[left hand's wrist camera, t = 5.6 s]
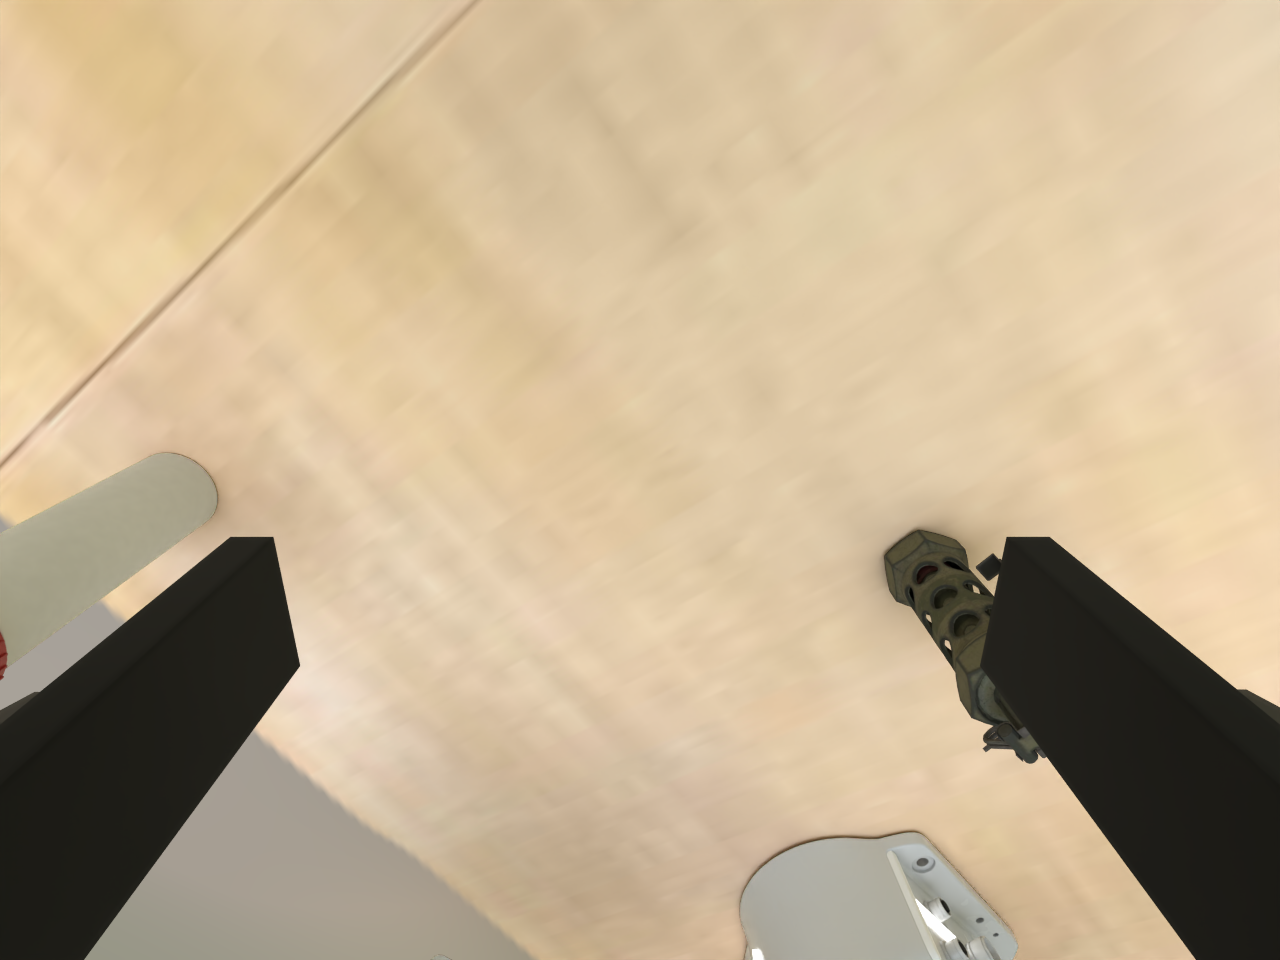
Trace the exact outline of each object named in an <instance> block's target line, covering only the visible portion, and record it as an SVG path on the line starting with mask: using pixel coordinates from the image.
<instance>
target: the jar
mask: <svg viewBox="0 0 1280 960" xmlns="http://www.w3.org/2000/svg"><path fill="white" fill-rule="evenodd" d="M217 500H218V499H217V491H216V487H215V485H214V483H213V480H212V479H211V477H210V476H209V474H208V473H207V472H206V471H205V470H204V469H203V468H202V467H201V466H200V465H199V464H197V463H196V462H194V461H193V460H191V459H189V458H187V457H184V456H182V455H178V454H173V453H159V454H155V455H152V456H149V457H148V458H146V459H144V460H142V461H140V462H138V463H136V464H134V465H132V466H130V467H128V468H126V469H124V470H122V471H120V472H118V473H116V474H115V475H113V476H111V477H109V478H107V479H105V480H103V481H101V482H99V483H97V484H95V485H93V486H91V487H89V488H87V489H85V490H83V491H82V492H80V493H78V494H76V495H74V496H72V497H70V498H68V499H66V500H64V501H62V502H60V503H58V504H56V505H54V506H52V507H50V508H49V509H47V510H45V511H43V512H41V513H39V514H37V515H35V516H33V517H31V518H29V519H27V520H25V521H23V522H21V523H19V524H17V525H16V526H14V527H12V528H10V529H8V530H6V531H4V532H2V533H0V632H1V634H2V636H3V638H4V640H5V644H6V649H7V653H8V655H7V665H8V666H7V667H9V666H10V665H12V664H13V663H14V662H16V661H17V660H18V659H20V658H21V657H22V656H24V655H25V654H27V653H28V652H29V651H31V650H32V649H33V648H35V647H36V646H37V645H39V644H40V643H41V642H43V641H44V640H46V639H47V638H48V637H50V636H51V635H52V634H54V633H55V632H56V631H58V630H59V629H61V628H62V627H63V626H65V625H66V624H67V623H69V622H70V621H72V620H73V619H74V618H76V617H77V616H78V615H80V614H81V613H83V612H84V611H85V610H87V609H88V608H89V607H91V606H92V605H93V604H95V603H96V602H98V601H99V600H100V599H102V598H103V597H104V596H106V595H107V594H108V593H110V592H111V591H113V590H114V589H115V588H117V587H118V586H119V585H121V584H122V583H123V582H125V581H126V580H128V579H129V578H130V577H132V576H133V575H134V574H136V573H137V572H138V571H140V570H141V569H143V568H144V567H145V566H147V565H148V564H149V563H151V562H152V561H153V560H155V559H156V558H158V557H159V556H160V555H162V554H163V553H164V552H166V551H167V550H168V549H170V548H171V547H173V546H174V545H175V544H177V543H178V542H179V541H181V540H182V539H183V538H185V537H186V536H188V535H189V534H190V533H192V532H193V531H194V530H196V529H197V528H198V527H200V526H201V525H203V524H204V523H205V522H207V521H208V520H209V519H210V518H211V517H212V515H213V514H214V512H215V510H216V506H217Z"/></svg>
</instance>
